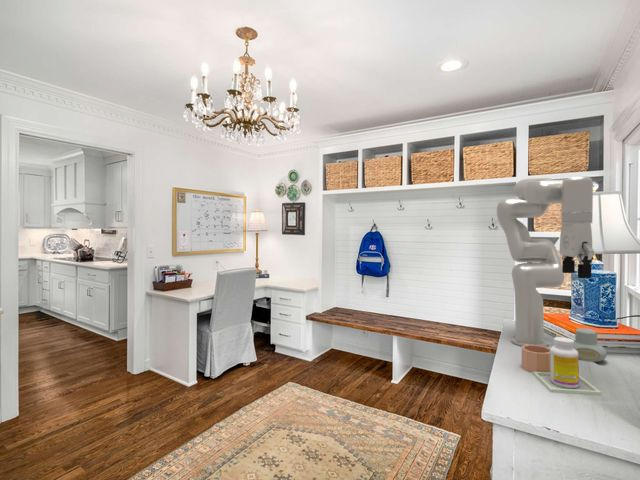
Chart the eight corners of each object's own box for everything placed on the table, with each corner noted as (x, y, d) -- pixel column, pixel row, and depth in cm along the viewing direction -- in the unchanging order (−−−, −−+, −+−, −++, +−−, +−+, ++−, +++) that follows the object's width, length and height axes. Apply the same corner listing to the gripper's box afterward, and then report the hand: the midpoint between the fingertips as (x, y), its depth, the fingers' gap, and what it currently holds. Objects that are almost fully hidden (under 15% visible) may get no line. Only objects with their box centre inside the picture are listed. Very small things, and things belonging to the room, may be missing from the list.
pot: (517, 365, 115) (517, 344, 115) (546, 366, 113) (546, 345, 113) (527, 375, 107) (526, 352, 107) (559, 377, 105) (558, 354, 105)
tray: (533, 376, 106) (533, 371, 106) (577, 379, 103) (577, 373, 103) (550, 395, 94) (550, 389, 94) (601, 398, 91) (601, 392, 91)
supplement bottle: (584, 390, 95) (583, 343, 95) (557, 388, 96) (556, 342, 96) (571, 380, 101) (571, 336, 101) (546, 378, 103) (545, 335, 103)
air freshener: (566, 360, 118) (566, 331, 118) (566, 353, 125) (566, 325, 125) (608, 366, 112) (607, 335, 112) (605, 358, 119) (605, 329, 119)
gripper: (550, 219, 113) (550, 271, 114) (576, 219, 96) (576, 280, 97) (576, 218, 112) (576, 271, 112) (607, 218, 95) (607, 280, 96)
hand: (576, 275), depth 105 cm, fingers open, 9 cm apart
